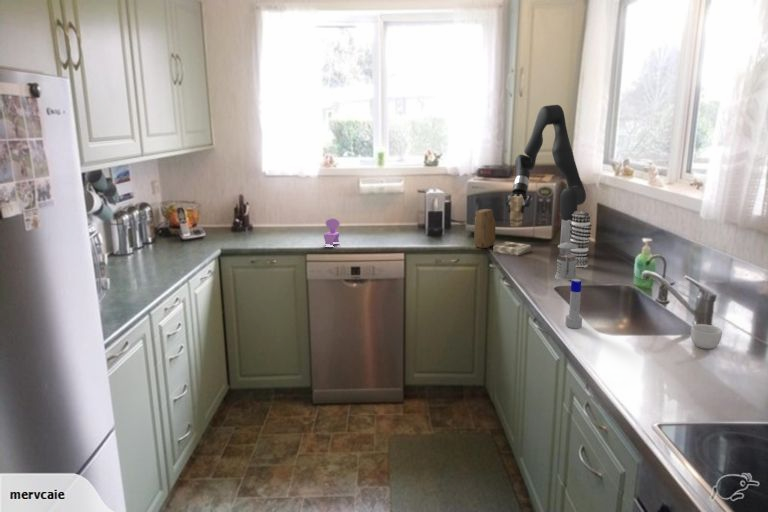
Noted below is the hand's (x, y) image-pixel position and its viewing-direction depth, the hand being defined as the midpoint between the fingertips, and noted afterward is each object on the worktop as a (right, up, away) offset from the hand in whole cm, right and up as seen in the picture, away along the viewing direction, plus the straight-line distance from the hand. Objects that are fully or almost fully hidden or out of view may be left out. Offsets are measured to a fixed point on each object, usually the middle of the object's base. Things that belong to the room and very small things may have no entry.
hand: (515, 212), depth 275 cm
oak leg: (+1, -7, +3) cm, 8 cm away
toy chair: (-96, -17, +25) cm, 101 cm away
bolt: (-5, -45, -99) cm, 109 cm away
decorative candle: (+22, -27, -27) cm, 44 cm away
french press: (+10, -32, -46) cm, 57 cm away
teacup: (+28, -49, -116) cm, 129 cm away
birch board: (-1, -20, +3) cm, 20 cm away
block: (-13, -17, +15) cm, 26 cm away
